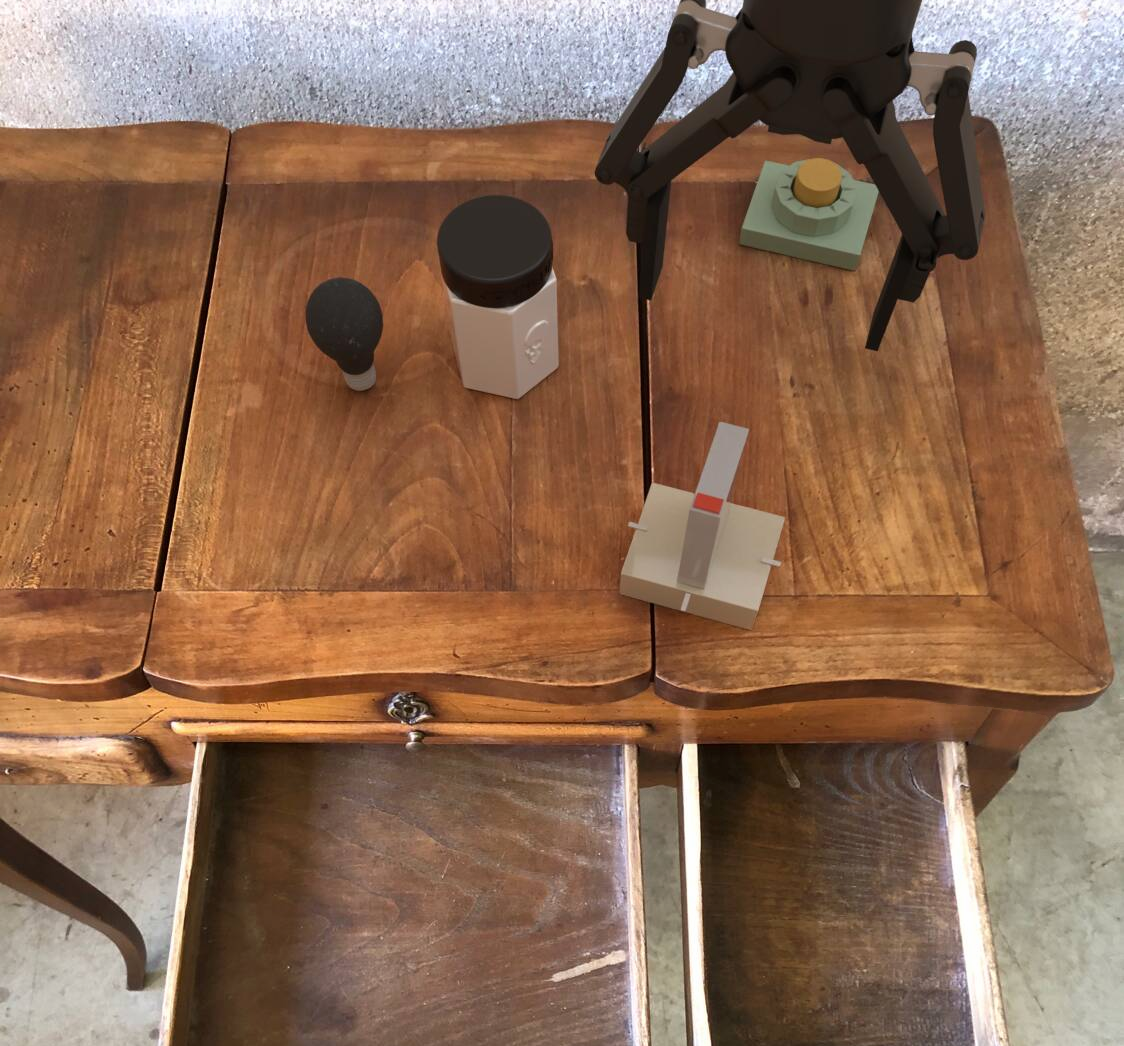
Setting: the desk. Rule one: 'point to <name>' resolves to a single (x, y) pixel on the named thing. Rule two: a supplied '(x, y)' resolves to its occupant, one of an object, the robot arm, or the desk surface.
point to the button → (817, 182)
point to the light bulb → (346, 327)
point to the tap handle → (711, 504)
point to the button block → (808, 218)
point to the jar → (500, 294)
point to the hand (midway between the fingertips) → (761, 307)
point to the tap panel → (732, 572)
